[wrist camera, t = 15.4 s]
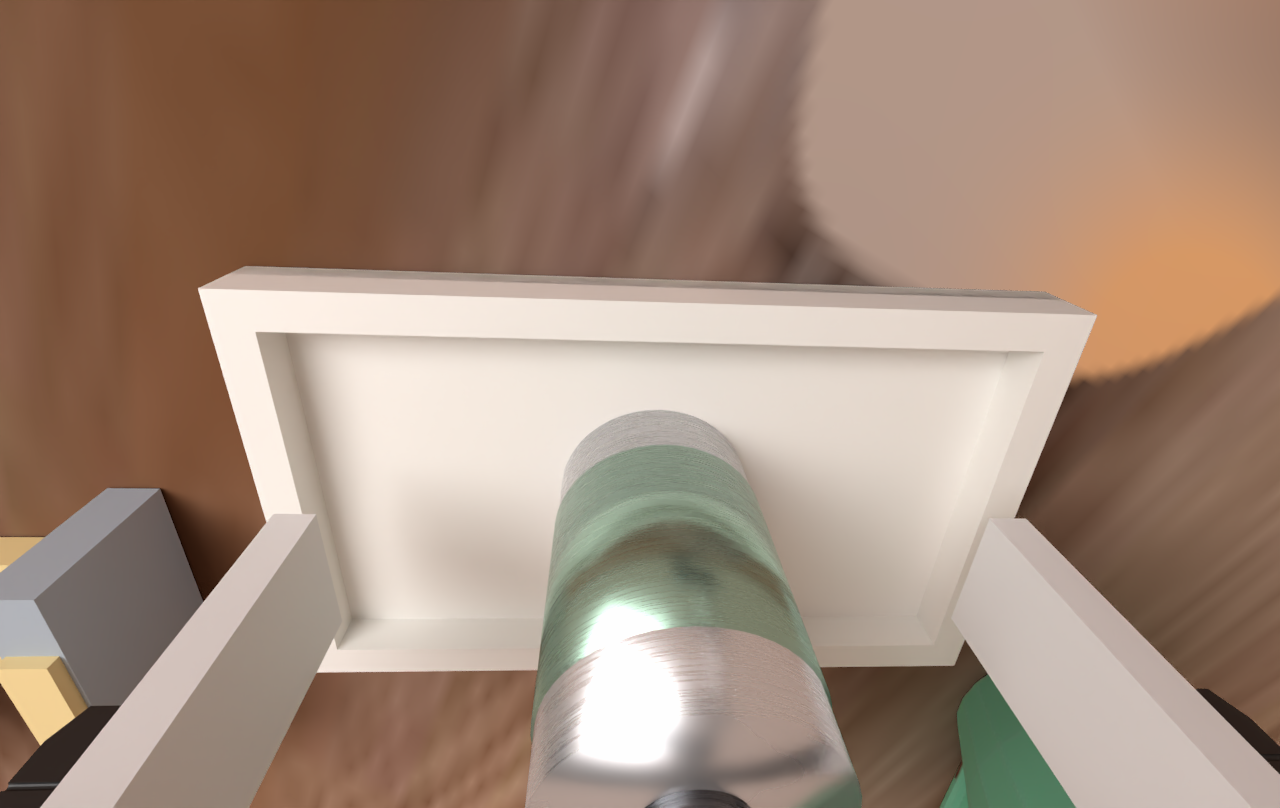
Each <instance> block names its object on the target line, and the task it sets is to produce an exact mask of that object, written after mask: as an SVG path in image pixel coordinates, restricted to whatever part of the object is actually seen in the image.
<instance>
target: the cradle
mask: <svg viewBox="0 0 1280 808" xmlns="http://www.w3.org/2000/svg"><path fill="white" fill-rule="evenodd" d="M202 603H203V600H202V597H201V595H200V592H199V590H198V587H197V584H196V582H195V579H194V576H193V574H192V571H191V569H190V566H189V563H188V561H187V558H186V555H185V553H184V550H183V548H182V545H181V542H180V540H179V537H178V534H177V532H176V529H175V527H174V524H173V521H172V519H171V516H170V514H169V511H168V508H167V506H166V503H165V500H164V498H163V495H162V493H161V490H160V489H144V488H107V489H106V490H104V491H103V492H102V493H101V494H99V495H98V496H97V497H96V498H94V499H93V500H92V501H90V502H89V503H88V504H87V505H85V506H84V507H83V508H82V509H80V510H79V511H78V512H76V513H75V514H74V515H73V516H71V517H70V518H69V519H68V520H66V521H65V522H64V523H63V524H61V525H60V526H59V527H57V528H56V529H55V530H54V531H52V532H51V533H50V534H49V535H47V536H46V537H0V683H1V685H2V686H3V688H4V689H5V691H6V693H7V694H8V696H9V697H10V699H11V700H12V702H13V703H14V705H15V707H16V708H17V710H18V711H19V713H20V714H21V716H22V718H23V719H24V721H25V722H26V724H27V725H28V727H29V728H30V730H31V732H32V733H33V735H34V736H35V738H36V739H37V741H38V743H39V744H40V746H41V745H42V744H43V742H44V741H45V740H47V739H48V738H49V737H51V736H52V735H53V734H55V733H56V732H57V731H58V730H60V729H61V728H62V727H64V726H65V725H66V724H68V723H69V722H70V721H72V720H73V719H74V718H75V717H77V716H78V715H79V714H81V713H82V712H83V711H85V710H86V709H87V708H88V707H90V706H115V705H122V704H123V703H124V701H125V700H126V699H127V698H128V696H129V695H130V694H131V693H132V691H133V690H134V689H135V688H136V686H137V685H138V684H139V683H140V681H141V680H142V679H143V678H144V676H145V675H146V674H147V673H148V671H149V670H150V669H151V667H152V666H153V665H154V664H155V662H156V661H157V660H158V659H159V657H160V656H161V655H162V654H163V652H164V651H165V650H166V649H167V647H168V646H169V645H170V644H171V642H172V641H173V640H174V639H175V637H176V636H177V635H178V634H179V632H180V631H181V630H182V628H183V627H184V626H185V625H186V623H187V622H188V621H189V620H190V618H191V617H192V616H193V615H194V613H195V612H196V611H197V610H198V608H199V607H200V606H201V605H202Z"/></svg>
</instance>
